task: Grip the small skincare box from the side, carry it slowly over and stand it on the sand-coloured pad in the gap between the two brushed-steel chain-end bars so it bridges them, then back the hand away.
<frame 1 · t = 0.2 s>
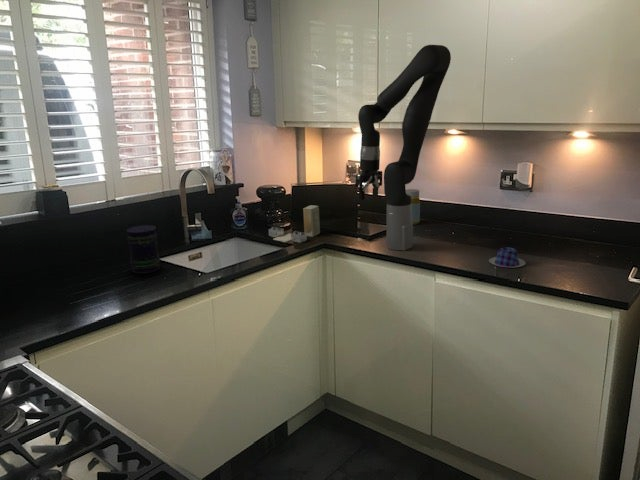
hand: (368, 198, 215), 18 cm above the worktop, tool pointing down, fingers open, 8 cm apart
storage jar: (146, 269, 196), on the worktop
blue plaid hat: (506, 264, 190), on the worktop
seat pad: (287, 238, 229), on the worktop
bottle: (411, 223, 247), on the worktop
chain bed: (287, 238, 229), on the worktop
skincare box: (312, 235, 233), on the worktop
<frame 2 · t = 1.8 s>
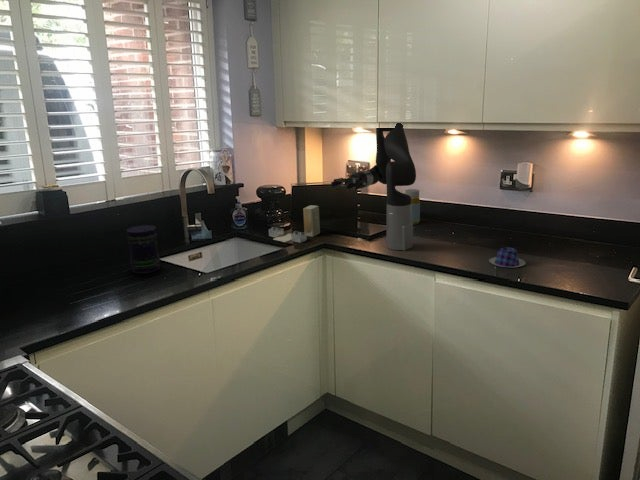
hand: (339, 185, 237), 19 cm above the worktop, tool horizontal, fingers open, 8 cm apart
nothing on the worktop moved.
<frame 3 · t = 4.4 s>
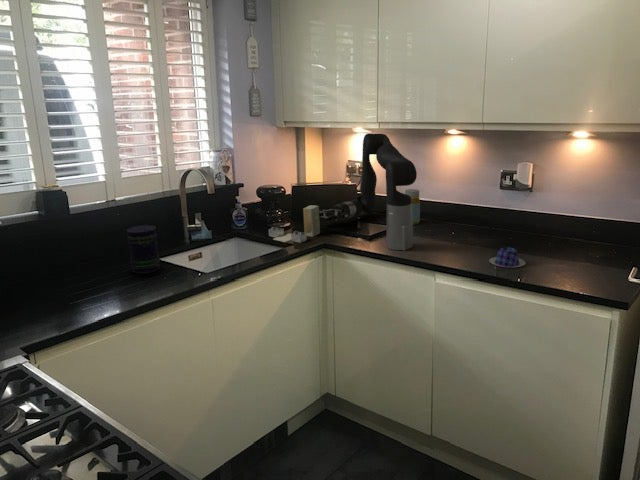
hand: (321, 217, 236), 6 cm above the worktop, tool horizontal, fingers open, 8 cm apart
nothing on the worktop moved.
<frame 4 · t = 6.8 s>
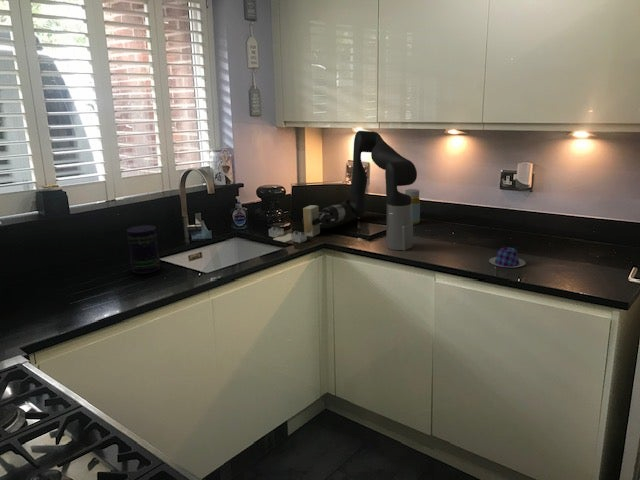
hand: (307, 222, 230), 6 cm above the worktop, tool horizontal, fingers closed on skincare box, 5 cm apart
skincare box: (312, 235, 233), on the worktop, touching gripper
everything else where it was.
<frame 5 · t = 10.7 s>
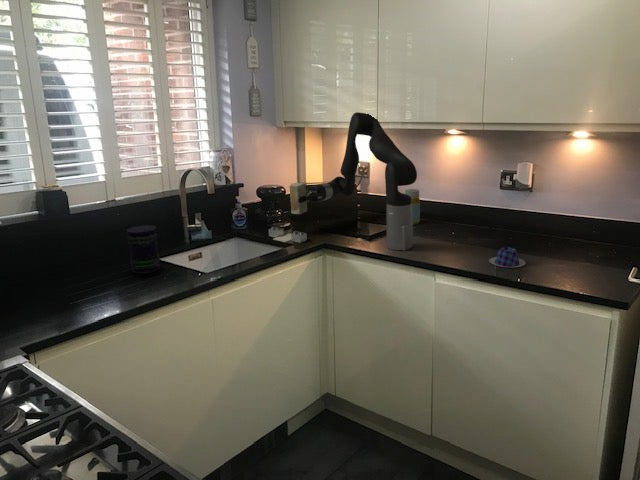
hand: (294, 199, 229), 16 cm above the worktop, tool horizontal, fingers closed on skincare box, 5 cm apart
skincare box: (299, 213, 232), point 9 cm above the worktop, touching gripper
everything else where it was.
when the fingers open (7 cm above the worktop, at t = 14.5 s): skincare box stays where it is, resting on seat pad.
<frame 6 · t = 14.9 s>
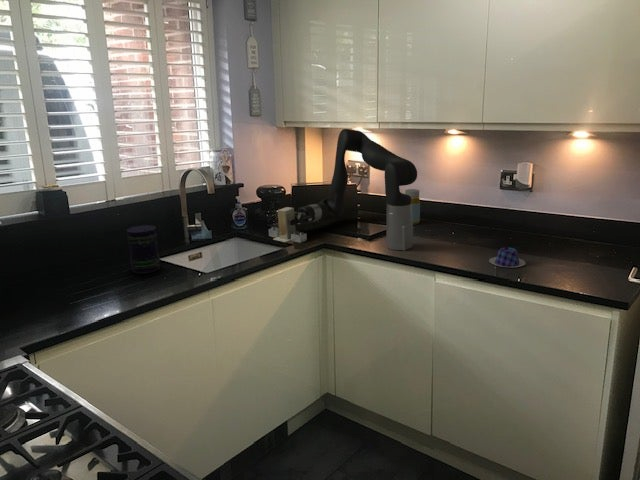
hand: (283, 221, 225), 8 cm above the worktop, tool horizontal, fingers open, 8 cm apart
skincare box: (287, 237, 229), resting on seat pad
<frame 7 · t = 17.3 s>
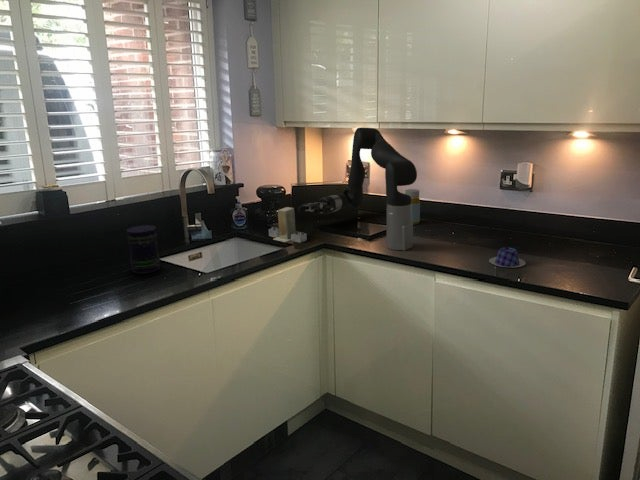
hand: (306, 210, 234), 10 cm above the worktop, tool horizontal, fingers open, 8 cm apart
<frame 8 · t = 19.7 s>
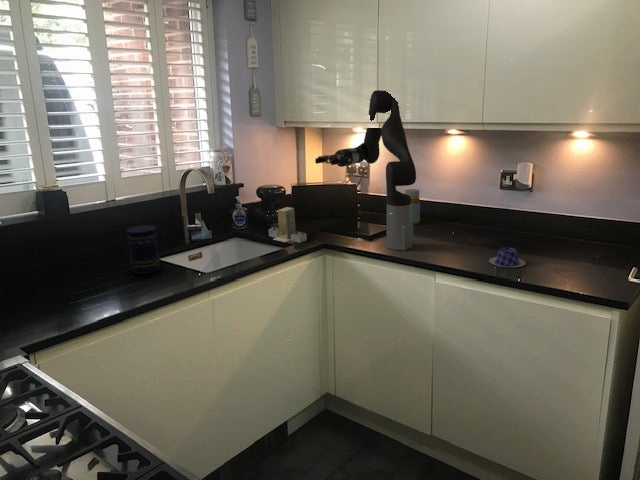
hand: (323, 161, 232), 30 cm above the worktop, tool horizontal, fingers open, 8 cm apart
at the end: skincare box inside the target area on the seat pad (0.1 cm from its centre), point 0.2 cm above the seat pad's base; skincare box tilted 0°; the gripper is holding nothing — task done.
